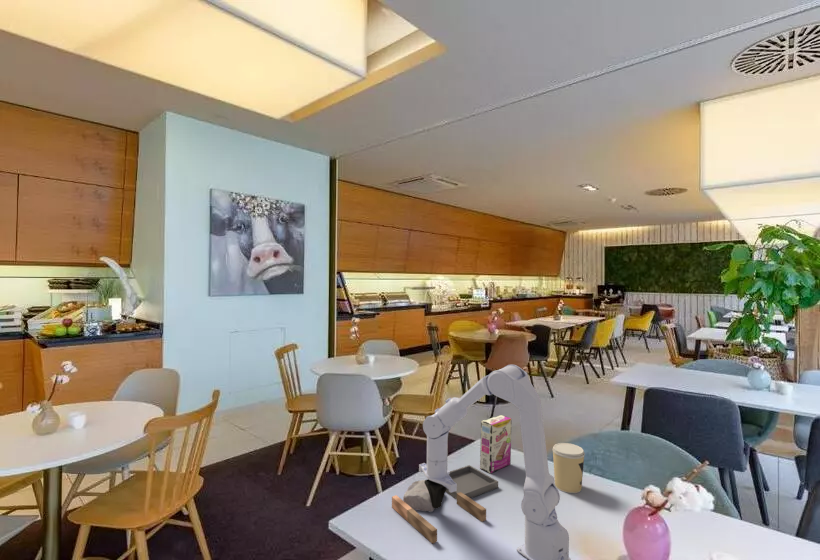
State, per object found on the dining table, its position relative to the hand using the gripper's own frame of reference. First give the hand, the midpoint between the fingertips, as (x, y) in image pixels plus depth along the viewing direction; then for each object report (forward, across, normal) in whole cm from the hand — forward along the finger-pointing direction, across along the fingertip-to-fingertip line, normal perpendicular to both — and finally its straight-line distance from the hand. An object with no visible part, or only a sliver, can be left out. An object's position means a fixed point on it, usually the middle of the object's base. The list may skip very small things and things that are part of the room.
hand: (436, 506), depth 114 cm
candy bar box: (+2, +11, -34) cm, 36 cm away
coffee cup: (+2, -11, -43) cm, 44 cm away
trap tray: (+2, +7, -17) cm, 18 cm away
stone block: (+2, +8, -1) cm, 8 cm away
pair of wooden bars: (+2, 0, 0) cm, 2 cm away
